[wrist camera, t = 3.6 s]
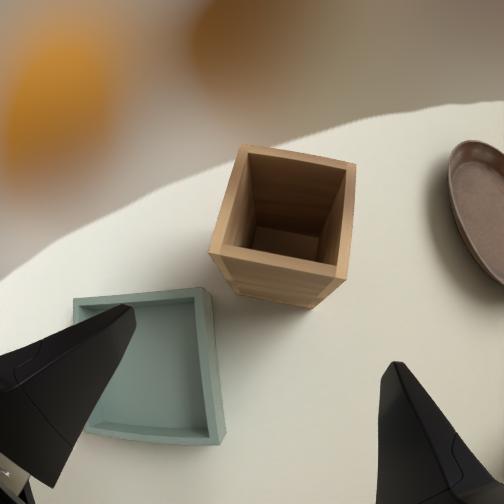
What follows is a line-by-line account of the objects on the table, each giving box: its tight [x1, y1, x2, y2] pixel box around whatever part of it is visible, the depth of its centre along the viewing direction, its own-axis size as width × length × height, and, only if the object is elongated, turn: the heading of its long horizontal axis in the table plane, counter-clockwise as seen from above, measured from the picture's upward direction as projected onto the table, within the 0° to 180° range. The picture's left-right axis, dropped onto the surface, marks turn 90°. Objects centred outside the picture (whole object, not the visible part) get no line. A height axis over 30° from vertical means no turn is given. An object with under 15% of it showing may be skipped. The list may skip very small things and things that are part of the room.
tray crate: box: [73, 287, 226, 445], centre depth 19 cm, size 11×11×3 cm
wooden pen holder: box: [208, 144, 356, 309], centre depth 17 cm, size 6×6×10 cm
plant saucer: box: [448, 140, 504, 286], centre depth 21 cm, size 18×18×3 cm
